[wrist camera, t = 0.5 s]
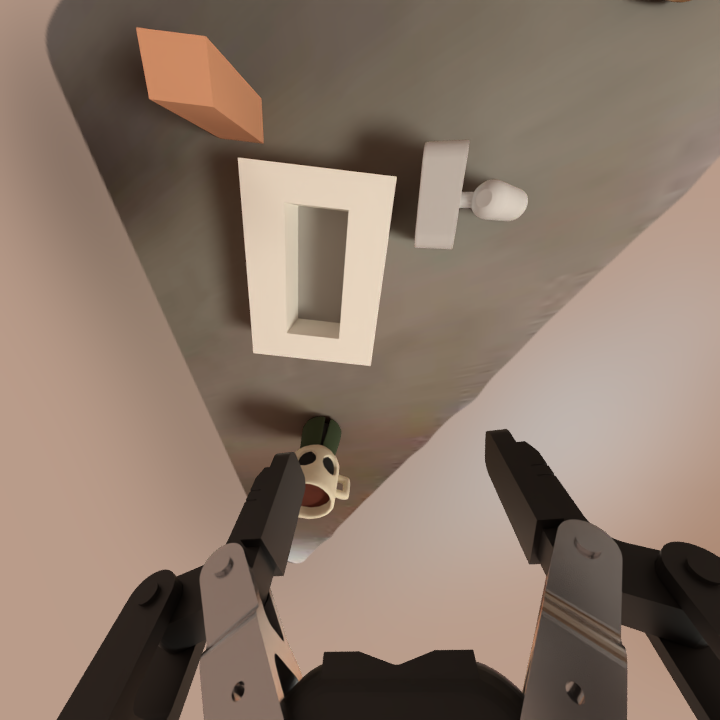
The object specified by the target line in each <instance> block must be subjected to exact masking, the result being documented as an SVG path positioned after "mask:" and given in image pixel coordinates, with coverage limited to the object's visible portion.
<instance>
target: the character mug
mask: <svg viewBox="0 0 720 720" xmlns="http://www.w3.org/2000/svg"><path fill="white" fill-rule="evenodd" d="M324 422H325V417H315V418H312V419H310V420H308V421H307V423H306V424H305V426H304V427H303V432H302V438H301V446H300V449H298V450H297V451H296V452H295V454H296V456H297V459H298V461H299V463H300V466H301V468H302V471H303V473H304V476H305V492H304V496H303V500H302V504H301V508H300V512H299V516H298V517H300V518H307V519H312V518H320V517H322V516H324V515H327V514H328V513H329V512H330V511H331V510H332V509H333V506H334V502H335V497H336V498H339V499H343V500H345V499H348V497H349V489H350V480H349V478H347V477H345V476H341V475H338V474H339V464H338V461H337V458H336V456H335V454H336V451H337V448H338V445H339V442H340V437H341V429H340V427H339V425H338V424H337V423H336V422H335V421H334V420H332V419H331V420H330V424H327V423H324ZM337 482H338V483H342V484H343V491H341V490H337V489H336V487H337Z"/></svg>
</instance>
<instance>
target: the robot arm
mask: <svg viewBox="0 0 720 720" xmlns="http://www.w3.org/2000/svg"><path fill="white" fill-rule="evenodd" d="M485 463H486V467H487V470H488V473H489V476H490V478H491V480H492V482H493V485H494V487H495V489H496V492H497V494H498V496H499V498H500V500H501V503H502V505H503V507H504V509H505V512H506V514H507V516H508V518H509V520H510V523H511V525H512V527H513V529H514V532H515V534H516V536H517V538H518V540H519V543H520V545H521V547H522V549H523V551H524V554H525V556H526V558H527V560H528V563H529V564H541V566H542V568H543V570H544V572H545V574H546V580H545V586H544V591H543V595H542V600H541V605H540V610H539V615H538V620H537V624H536V630H535V634H534V639H533V644H532V648H531V653H530V657H529V663H528V667H527V672H526V676H525V681H524V687H523V691H522V692H521V691H520V690H519V689H518V688H517V686H515V685H514V684H513V683H512V682H511V681H509V680H508V679H507V678H506V677H505V676H503V675H502V674H500V673H499V672H497V671H496V670H494V669H492V668H490V667H488V666H486V665H485V664H482V663H479V662H476V660H475V656H474V652H473V650H434V651H432V652H429V653H427V654H425V655H422V656H420V657H417V658H415V659H412V660H410V661H407V662H405V663H403V664H400V665H394V664H390V663H388V662H385V661H383V660H380V659H377V658H375V657H372V656H370V655H367V654H364V653H362V652H359V651H358V652H324V656H323V664H322V665H320V666H318V667H316V668H315V669H313V670H312V671H310V672H309V673H308V674H306V675H305V676H304V677H302V674H301V671H300V668H299V666H298V664H297V661H296V659H295V657H294V655H293V653H292V651H291V648H290V646H289V643H288V641H287V637H286V635H285V631H284V628H283V625H282V622H281V619H280V616H279V613H278V610H277V607H276V604H275V601H274V598H273V595H272V591H271V589H270V585H271V582H272V578H273V576H283V575H284V572H285V568H286V565H287V560H288V556H289V552H290V548H291V544H292V540H293V536H294V532H295V528H296V524H297V520H298V516H299V512H300V508H301V504H302V500H303V496H304V492H305V476H304V473H303V471H302V468H301V466H300V463H299V461H298V459H297V456H296V454H295V453H294V452H288V453H279V454H276V455H275V456H274V458H273V461H272V463H271V466H270V467H267V468H264V469H263V470H262V472H261V473H260V474H259V475H258V476H257V477H256V479H255V481H254V483H253V486H252V488H251V492H250V493H249V495H248V497H247V499H246V502H245V503H244V506H243V508H242V510H241V512H240V515H239V517H238V519H237V521H236V524H235V526H234V528H233V530H232V533H231V535H230V537H229V539H228V541H227V543H226V545H224V546H222V547H220V548H219V549H217V550H216V551H215V552H214V553H213V554H212V555H211V556H210V557H209V558H208V559H207V561H206V562H205V564H204V565H203V566H201V567H198V568H196V569H194V570H191V571H189V572H186V573H184V574H182V575H179V576H177V577H176V576H175V574H174V573H173V572H172V571H170V570H161V571H158V572H156V573H154V574H152V575H151V576H149V577H148V578H146V579H145V580H144V581H143V582H142V583H141V584H140V585H139V586H138V587H137V588H136V589H135V591H134V592H133V593H132V595H131V596H130V598H129V599H128V601H127V603H126V604H125V606H124V608H123V609H122V611H121V613H120V614H119V616H118V618H117V619H116V621H115V623H114V624H113V626H112V628H111V629H110V631H109V633H108V635H107V636H106V638H105V640H104V641H103V643H102V645H101V646H100V648H99V650H98V651H97V653H96V655H95V656H94V658H93V660H92V661H91V663H90V665H89V666H88V668H87V670H86V671H85V673H84V675H83V677H82V678H81V680H80V682H79V683H78V685H77V687H76V688H75V690H74V692H73V693H72V695H71V697H70V698H69V700H68V702H67V703H66V705H65V707H64V708H63V710H62V712H61V713H60V715H59V717H58V718H57V720H179V717H180V715H181V712H182V709H183V706H184V703H185V700H186V697H187V695H188V692H189V689H190V686H191V683H192V680H193V677H194V675H195V671H196V669H197V666H198V663H199V661H200V679H201V690H202V701H203V713H204V720H627V654H626V650H625V647H624V646H623V645H622V642H621V625H624V626H627V627H630V628H633V629H636V630H639V631H642V632H645V633H646V635H647V637H648V638H649V640H650V642H651V643H652V645H653V647H654V648H655V650H656V652H657V653H658V655H659V657H660V658H661V660H662V662H663V663H664V665H665V667H666V668H667V670H668V671H669V673H670V675H671V676H672V678H673V680H674V681H675V683H676V685H677V686H678V688H679V690H680V691H681V693H682V695H683V696H684V698H685V700H686V701H687V703H688V705H689V706H690V708H691V710H692V711H693V713H694V714H695V716H696V718H697V719H698V720H720V557H718V556H716V555H715V554H713V553H711V552H709V551H707V550H705V549H703V548H701V547H698V546H696V545H692V544H689V543H684V542H670V543H668V544H666V545H664V546H663V548H662V549H661V551H659V550H655V549H650V548H646V547H642V546H638V545H633V544H629V543H625V542H622V541H619V540H616V539H613V538H611V537H610V536H609V535H608V534H607V533H606V532H604V531H603V530H602V529H600V528H599V527H597V526H595V525H593V524H591V523H590V522H588V521H587V519H586V518H585V517H584V516H583V514H582V513H581V511H580V510H579V508H578V507H577V506H576V504H575V503H574V501H573V500H572V499H571V497H570V496H569V494H568V493H567V491H566V490H565V489H564V487H563V486H562V484H561V483H560V482H559V480H558V479H557V477H556V476H554V473H553V472H552V470H551V469H550V467H549V466H547V463H546V462H545V460H544V459H543V457H542V456H541V455H540V453H539V452H538V451H537V450H536V449H535V448H533V447H532V446H531V445H529V444H528V443H526V442H525V441H523V442H516V441H515V440H514V438H513V437H512V435H511V433H510V432H509V431H508V430H507V429H503V430H494V431H487V432H486V439H485ZM206 642H207V648H206V651H204V652H203V649H204V646H205V643H206ZM202 652H203V653H202Z"/></svg>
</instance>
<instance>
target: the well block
mask: <svg viewBox="0 0 720 720" xmlns="http://www.w3.org/2000/svg"><path fill="white" fill-rule="evenodd" d="M238 167H239V180H240V192H241V204H242V217H243V229H244V241H245V254H246V266H247V279H248V291H249V303H250V316H251V328H252V340H253V353H258V354H267V355H276V356H285V357H295V358H304V359H313V360H322V361H331V362H340V363H349V364H358V365H367V366H371V359H372V352H373V345H374V338H375V330H376V323H377V316H378V309H379V302H380V294H381V287H382V280H383V273H384V266H385V258H386V251H387V244H388V237H389V230H390V223H391V215H392V208H393V201H394V194H395V187H396V179H397V177H395V176H387V175H379V174H370V173H362V172H354V171H346V170H337V169H329V168H321V167H312V166H304V165H296V164H287V163H279V162H271V161H262V160H254V159H246V158H238Z"/></svg>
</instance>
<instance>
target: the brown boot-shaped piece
mask: <svg viewBox="0 0 720 720" xmlns="http://www.w3.org/2000/svg"><path fill="white" fill-rule="evenodd" d="M667 1H671V2H687V1H691V0H667Z"/></svg>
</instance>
